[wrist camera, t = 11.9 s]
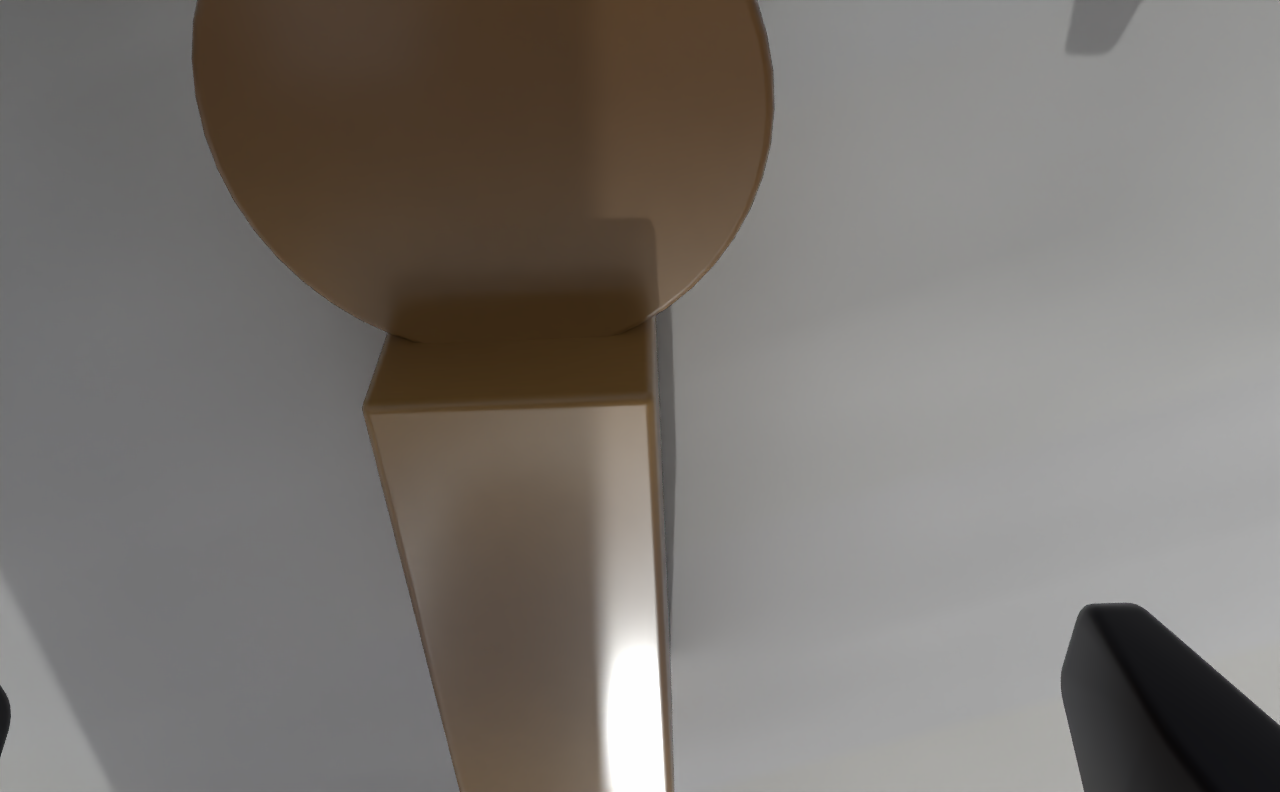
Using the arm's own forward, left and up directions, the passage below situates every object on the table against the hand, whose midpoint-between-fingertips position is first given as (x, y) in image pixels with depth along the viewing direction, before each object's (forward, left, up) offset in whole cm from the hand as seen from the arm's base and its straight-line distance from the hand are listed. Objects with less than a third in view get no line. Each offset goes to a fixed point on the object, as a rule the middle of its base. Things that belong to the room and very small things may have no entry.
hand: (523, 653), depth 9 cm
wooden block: (+1, 0, -3) cm, 3 cm away
